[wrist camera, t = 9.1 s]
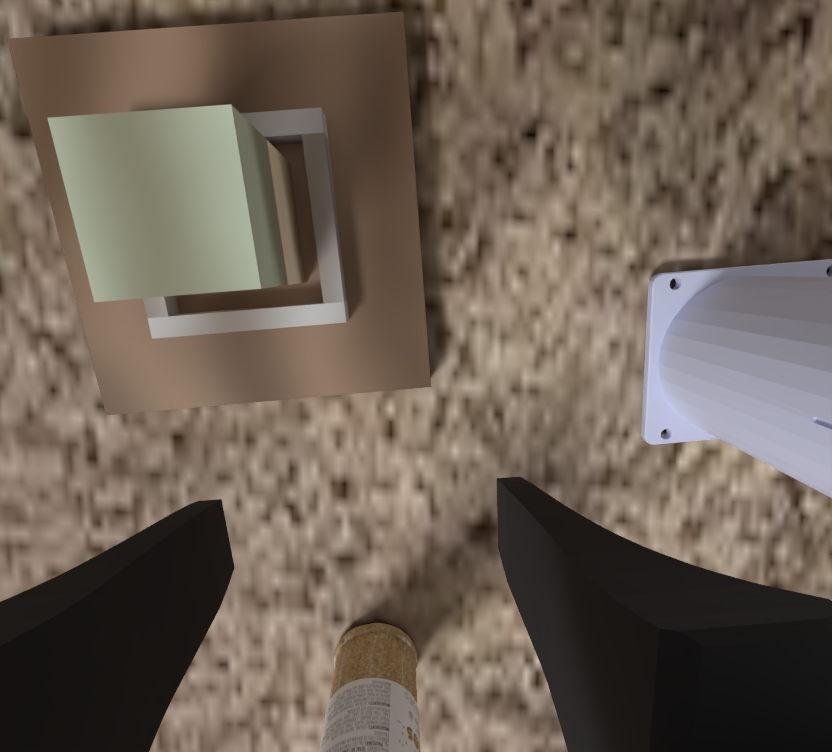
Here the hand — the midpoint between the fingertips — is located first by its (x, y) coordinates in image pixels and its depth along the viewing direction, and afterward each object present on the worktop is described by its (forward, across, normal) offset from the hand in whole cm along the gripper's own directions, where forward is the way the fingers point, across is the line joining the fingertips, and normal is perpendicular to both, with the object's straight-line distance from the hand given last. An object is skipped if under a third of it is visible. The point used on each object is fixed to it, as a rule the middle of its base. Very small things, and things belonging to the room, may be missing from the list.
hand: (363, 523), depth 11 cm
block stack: (+8, +5, -8) cm, 13 cm away
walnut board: (+9, +5, -8) cm, 13 cm away
